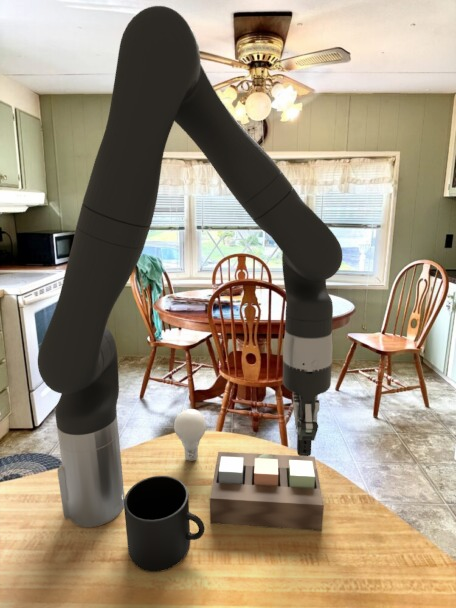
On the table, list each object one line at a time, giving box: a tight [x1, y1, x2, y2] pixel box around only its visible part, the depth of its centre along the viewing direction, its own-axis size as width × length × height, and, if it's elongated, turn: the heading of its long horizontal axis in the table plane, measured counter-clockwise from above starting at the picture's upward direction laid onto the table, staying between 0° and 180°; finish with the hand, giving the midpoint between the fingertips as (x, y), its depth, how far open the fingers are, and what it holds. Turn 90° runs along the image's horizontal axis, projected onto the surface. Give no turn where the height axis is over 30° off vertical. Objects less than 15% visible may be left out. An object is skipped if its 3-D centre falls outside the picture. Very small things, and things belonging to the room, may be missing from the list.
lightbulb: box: [173, 408, 207, 462], centre depth 80 cm, size 6×6×11 cm
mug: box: [123, 475, 206, 573], centre depth 61 cm, size 9×12×9 cm
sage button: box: [288, 460, 315, 488], centre depth 69 cm, size 4×4×4 cm
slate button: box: [219, 456, 244, 484], centre depth 70 cm, size 4×4×4 cm
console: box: [209, 451, 325, 532], centre depth 70 cm, size 18×12×5 cm, turn 85°
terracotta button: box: [254, 458, 278, 486], centre depth 70 cm, size 4×4×4 cm
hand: (303, 453), depth 68 cm, fingers closed
